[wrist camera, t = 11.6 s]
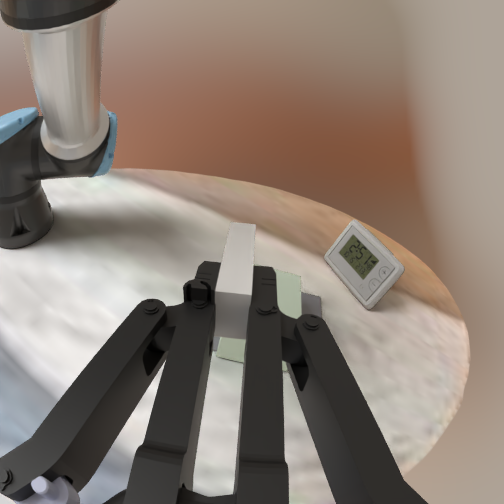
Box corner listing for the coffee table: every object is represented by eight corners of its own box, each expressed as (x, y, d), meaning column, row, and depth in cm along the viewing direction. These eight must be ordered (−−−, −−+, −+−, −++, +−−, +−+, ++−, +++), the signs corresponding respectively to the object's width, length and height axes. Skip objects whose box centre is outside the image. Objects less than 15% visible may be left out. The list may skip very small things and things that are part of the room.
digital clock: (319, 256, 65) (338, 215, 59) (351, 257, 68) (370, 219, 62) (353, 313, 54) (381, 271, 47) (386, 309, 57) (413, 270, 50)
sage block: (216, 356, 40) (231, 287, 51) (286, 371, 40) (288, 301, 52) (223, 330, 36) (239, 260, 47) (301, 348, 37) (300, 276, 48)
